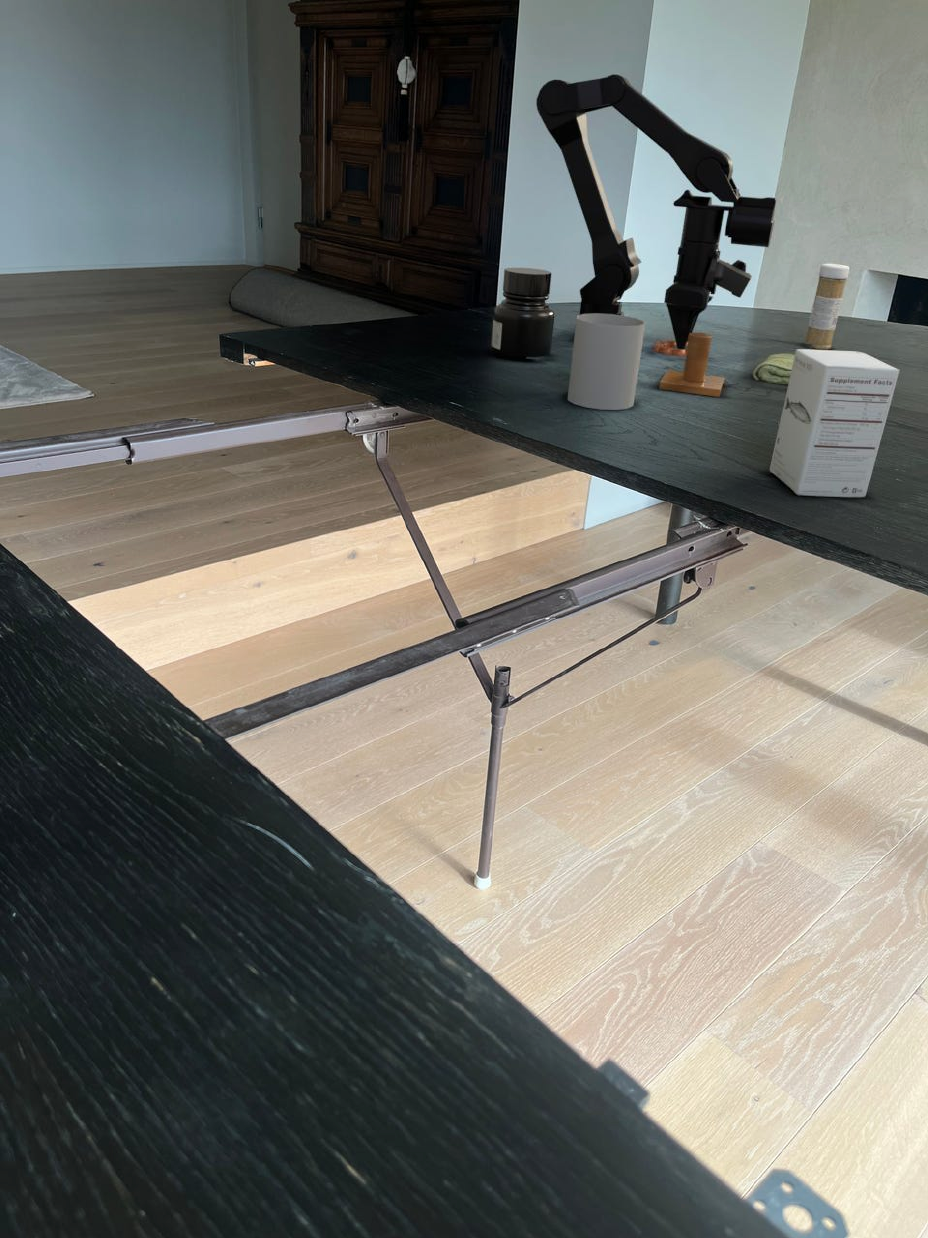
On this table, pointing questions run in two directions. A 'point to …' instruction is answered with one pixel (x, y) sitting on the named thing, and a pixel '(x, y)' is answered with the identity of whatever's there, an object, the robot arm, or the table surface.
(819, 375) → the white packaging box
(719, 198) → the robot arm
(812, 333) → the sprinkles bottle
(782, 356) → the washcloth
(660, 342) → the ring
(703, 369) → the wooden peg stand
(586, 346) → the cup
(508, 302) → the ink bottle
